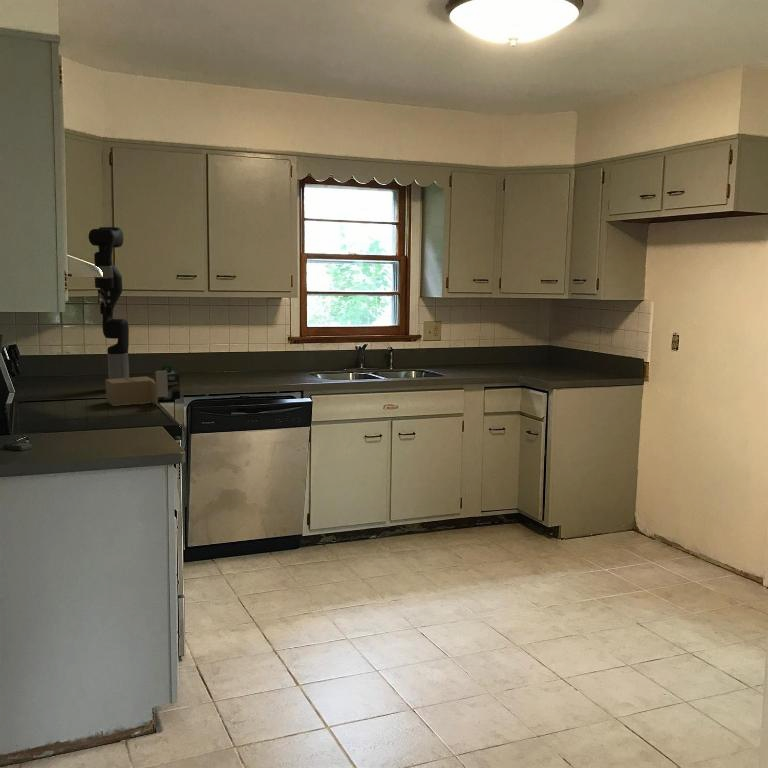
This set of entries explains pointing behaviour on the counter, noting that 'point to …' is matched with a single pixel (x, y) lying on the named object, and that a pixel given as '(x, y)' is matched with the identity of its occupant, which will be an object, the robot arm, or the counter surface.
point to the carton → (128, 390)
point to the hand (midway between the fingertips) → (105, 314)
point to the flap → (159, 386)
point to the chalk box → (171, 383)
